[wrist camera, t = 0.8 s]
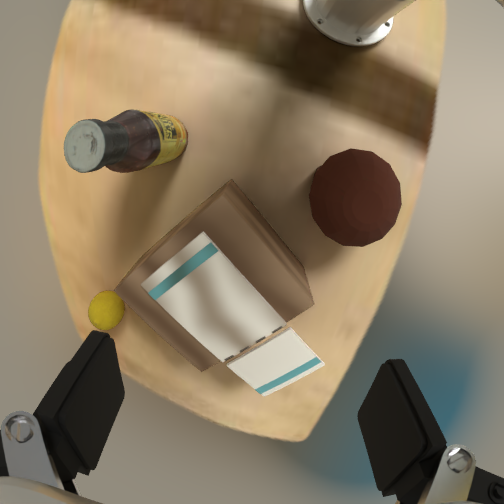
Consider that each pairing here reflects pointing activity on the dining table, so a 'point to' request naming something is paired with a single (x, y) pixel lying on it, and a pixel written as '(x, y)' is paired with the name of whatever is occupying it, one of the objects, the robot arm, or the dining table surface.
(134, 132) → the sauce bottle
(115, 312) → the lemon
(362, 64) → the dining table surface
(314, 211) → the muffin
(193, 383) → the dining table surface
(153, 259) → the brown box with strip
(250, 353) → the stub
